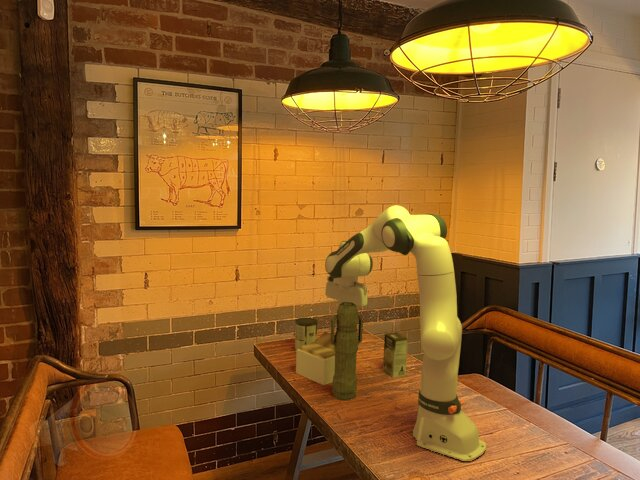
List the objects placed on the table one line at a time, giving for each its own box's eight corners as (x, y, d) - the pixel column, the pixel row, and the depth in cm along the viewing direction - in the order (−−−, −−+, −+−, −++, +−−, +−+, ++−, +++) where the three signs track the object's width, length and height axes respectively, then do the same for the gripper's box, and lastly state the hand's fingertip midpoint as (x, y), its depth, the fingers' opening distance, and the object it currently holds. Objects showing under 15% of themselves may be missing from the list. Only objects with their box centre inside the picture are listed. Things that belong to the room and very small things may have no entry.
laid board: (338, 354, 196) (338, 350, 196) (325, 359, 191) (325, 355, 190) (314, 345, 206) (314, 341, 206) (300, 349, 200) (300, 346, 200)
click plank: (350, 342, 201) (349, 339, 200) (340, 353, 197) (339, 351, 196) (326, 334, 211) (325, 331, 210) (315, 344, 207) (314, 342, 206)
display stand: (353, 373, 203) (354, 349, 202) (323, 385, 190) (324, 360, 189) (326, 362, 214) (326, 340, 213) (295, 373, 201) (296, 349, 200)
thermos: (364, 397, 181) (368, 305, 176) (335, 402, 176) (338, 308, 172) (353, 388, 189) (356, 299, 184) (325, 392, 184) (328, 301, 180)
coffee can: (302, 344, 236) (303, 316, 234) (320, 349, 230) (321, 319, 229) (290, 350, 227) (290, 321, 225) (308, 355, 222) (309, 325, 220)
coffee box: (382, 369, 208) (383, 333, 206) (395, 367, 210) (397, 331, 208) (393, 378, 199) (395, 340, 197) (406, 376, 202) (408, 338, 200)
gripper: (372, 283, 194) (369, 317, 196) (334, 274, 208) (332, 305, 210) (361, 285, 190) (359, 320, 192) (323, 275, 204) (322, 308, 206)
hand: (345, 312), depth 201 cm, fingers closed
